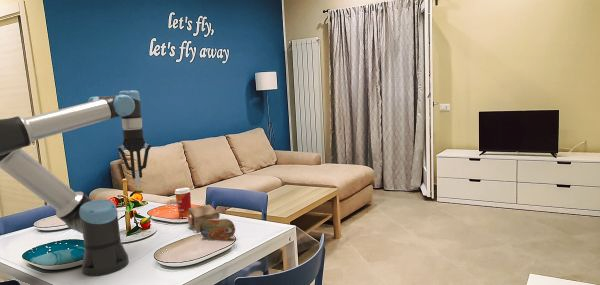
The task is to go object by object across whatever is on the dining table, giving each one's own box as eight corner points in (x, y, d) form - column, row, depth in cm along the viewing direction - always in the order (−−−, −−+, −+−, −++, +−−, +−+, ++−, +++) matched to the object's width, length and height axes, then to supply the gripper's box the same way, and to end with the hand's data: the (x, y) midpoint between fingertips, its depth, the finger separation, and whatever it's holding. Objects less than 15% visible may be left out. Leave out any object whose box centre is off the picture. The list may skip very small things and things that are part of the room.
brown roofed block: (190, 227, 181) (189, 216, 180) (188, 224, 186) (187, 213, 185) (220, 221, 187) (219, 210, 186) (217, 218, 192) (216, 207, 191)
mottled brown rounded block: (200, 239, 169) (198, 219, 168) (204, 236, 172) (202, 217, 171) (233, 241, 164) (231, 220, 163) (237, 238, 167) (235, 218, 166)
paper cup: (176, 216, 203) (173, 188, 201) (191, 213, 206) (189, 186, 205) (178, 220, 196) (175, 192, 194) (194, 217, 199) (191, 189, 197)
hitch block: (197, 232, 177) (195, 217, 176) (189, 222, 191) (188, 208, 190) (219, 227, 181) (218, 212, 180) (211, 218, 196) (209, 204, 195)
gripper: (148, 127, 172) (153, 182, 175) (114, 129, 167) (120, 186, 169) (150, 128, 166) (155, 185, 168) (115, 130, 160) (121, 189, 163)
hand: (138, 186), depth 169 cm, fingers closed
